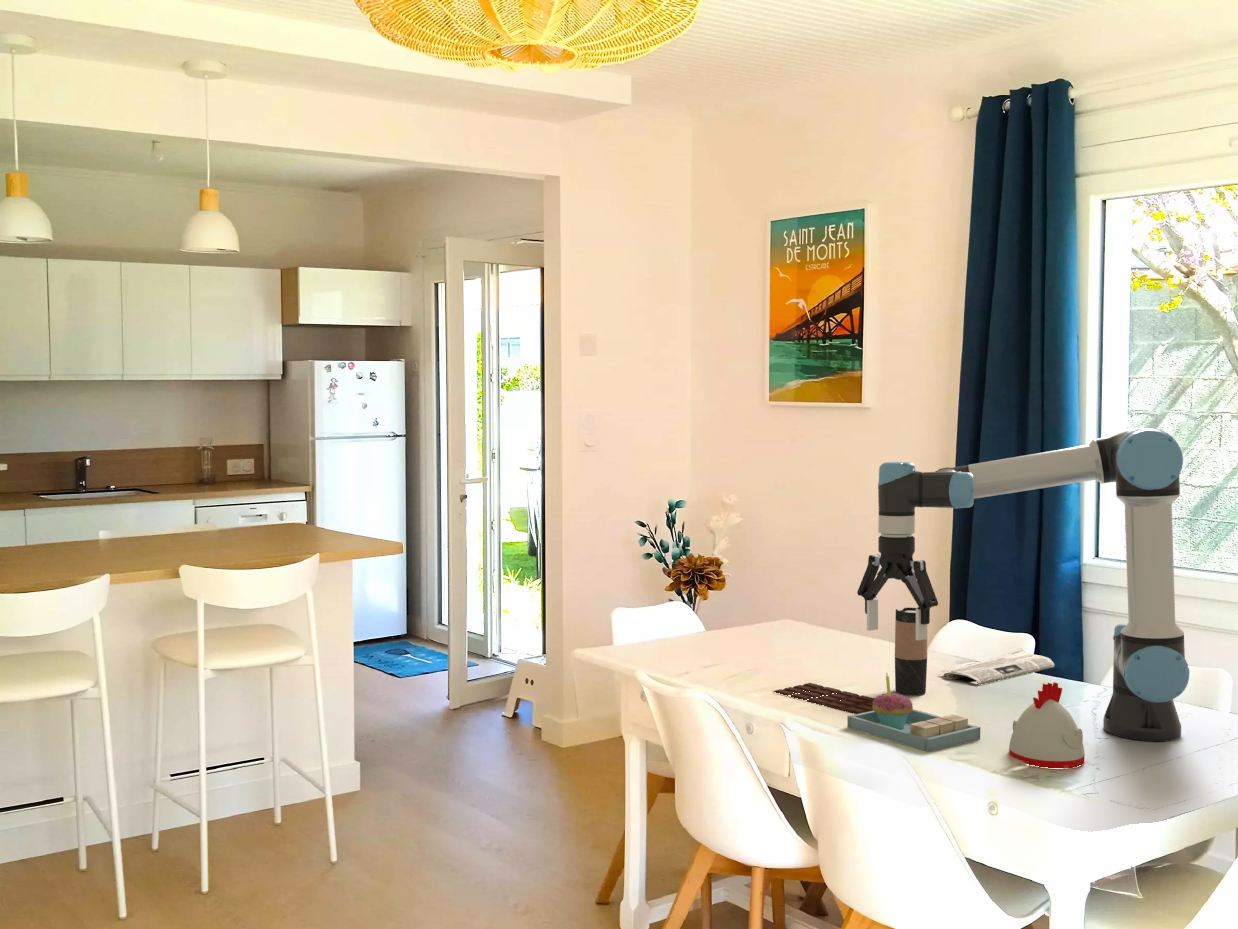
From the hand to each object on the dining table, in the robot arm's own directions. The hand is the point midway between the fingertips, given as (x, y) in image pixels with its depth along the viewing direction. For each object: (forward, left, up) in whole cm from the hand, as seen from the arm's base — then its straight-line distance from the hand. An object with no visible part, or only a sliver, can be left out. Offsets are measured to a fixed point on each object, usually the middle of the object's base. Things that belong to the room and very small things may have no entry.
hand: (896, 634), depth 252 cm
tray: (-5, 0, -21) cm, 21 cm away
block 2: (-12, 0, -20) cm, 23 cm away
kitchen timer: (-31, -9, -21) cm, 38 cm away
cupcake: (+1, 0, -20) cm, 20 cm away
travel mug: (+21, -29, -21) cm, 41 cm away
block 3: (-12, -4, -20) cm, 24 cm away
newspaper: (+23, -65, -21) cm, 72 cm away
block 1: (-12, +5, -20) cm, 24 cm away
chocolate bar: (+27, -9, -21) cm, 36 cm away
